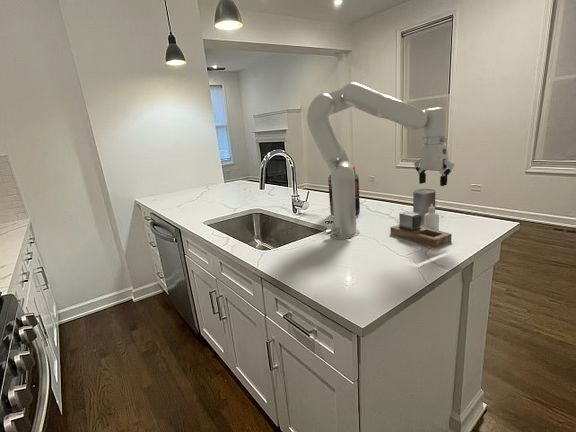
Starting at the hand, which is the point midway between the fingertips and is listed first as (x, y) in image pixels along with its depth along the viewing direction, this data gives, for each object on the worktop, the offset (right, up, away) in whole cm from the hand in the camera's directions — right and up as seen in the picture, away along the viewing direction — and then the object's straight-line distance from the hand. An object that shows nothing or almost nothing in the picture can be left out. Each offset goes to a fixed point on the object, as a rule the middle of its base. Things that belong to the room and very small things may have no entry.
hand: (432, 184), depth 128 cm
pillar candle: (+6, -14, +23) cm, 28 cm away
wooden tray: (-6, -22, -2) cm, 23 cm away
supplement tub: (-28, -13, +42) cm, 52 cm away
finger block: (-9, -20, +2) cm, 22 cm away
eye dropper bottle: (+2, -20, +5) cm, 21 cm away
